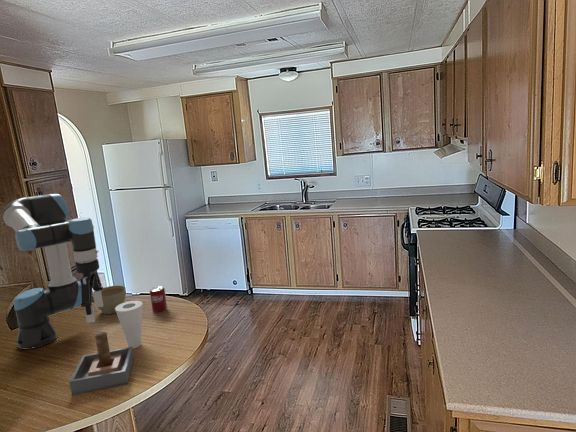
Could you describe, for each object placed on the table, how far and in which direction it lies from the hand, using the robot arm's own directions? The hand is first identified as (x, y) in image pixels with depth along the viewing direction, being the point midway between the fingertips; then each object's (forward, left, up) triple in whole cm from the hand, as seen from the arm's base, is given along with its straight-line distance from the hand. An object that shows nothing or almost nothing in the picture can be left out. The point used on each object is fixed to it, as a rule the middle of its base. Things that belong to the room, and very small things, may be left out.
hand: (95, 314), depth 148 cm
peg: (+2, -4, -21) cm, 21 cm away
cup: (+10, +13, -22) cm, 27 cm away
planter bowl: (-7, +58, -22) cm, 63 cm away
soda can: (+18, +47, -22) cm, 55 cm away
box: (+2, -7, -22) cm, 23 cm away
